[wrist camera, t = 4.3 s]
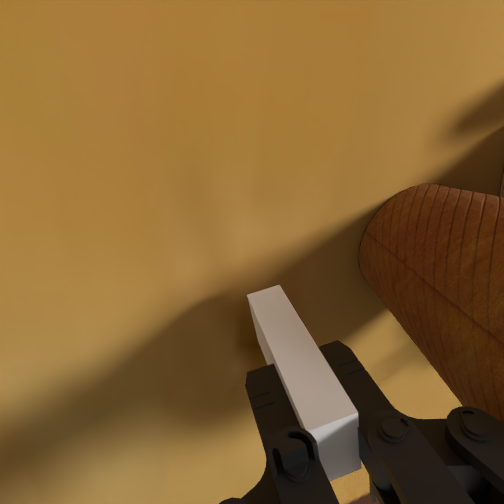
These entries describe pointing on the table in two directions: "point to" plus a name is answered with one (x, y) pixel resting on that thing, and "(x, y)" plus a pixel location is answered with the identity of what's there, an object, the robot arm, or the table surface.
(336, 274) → the table surface
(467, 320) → the disposable coffee cup
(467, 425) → the robot arm
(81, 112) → the table surface
